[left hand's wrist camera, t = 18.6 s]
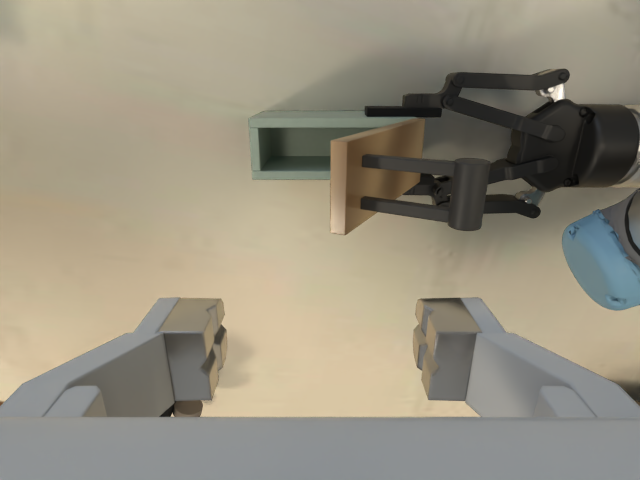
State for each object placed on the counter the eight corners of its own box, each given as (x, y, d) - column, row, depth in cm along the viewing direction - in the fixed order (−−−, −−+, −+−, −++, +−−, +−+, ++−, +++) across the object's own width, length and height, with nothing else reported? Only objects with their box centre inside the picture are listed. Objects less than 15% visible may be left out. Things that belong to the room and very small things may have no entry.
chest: (265, 161, 45) (252, 179, 37) (262, 111, 43) (248, 118, 35) (397, 161, 45) (412, 179, 37) (401, 110, 43) (418, 117, 35)
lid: (329, 232, 24) (470, 259, 21) (330, 140, 22) (486, 151, 19) (408, 180, 37) (505, 191, 33) (413, 118, 35) (516, 122, 31)
